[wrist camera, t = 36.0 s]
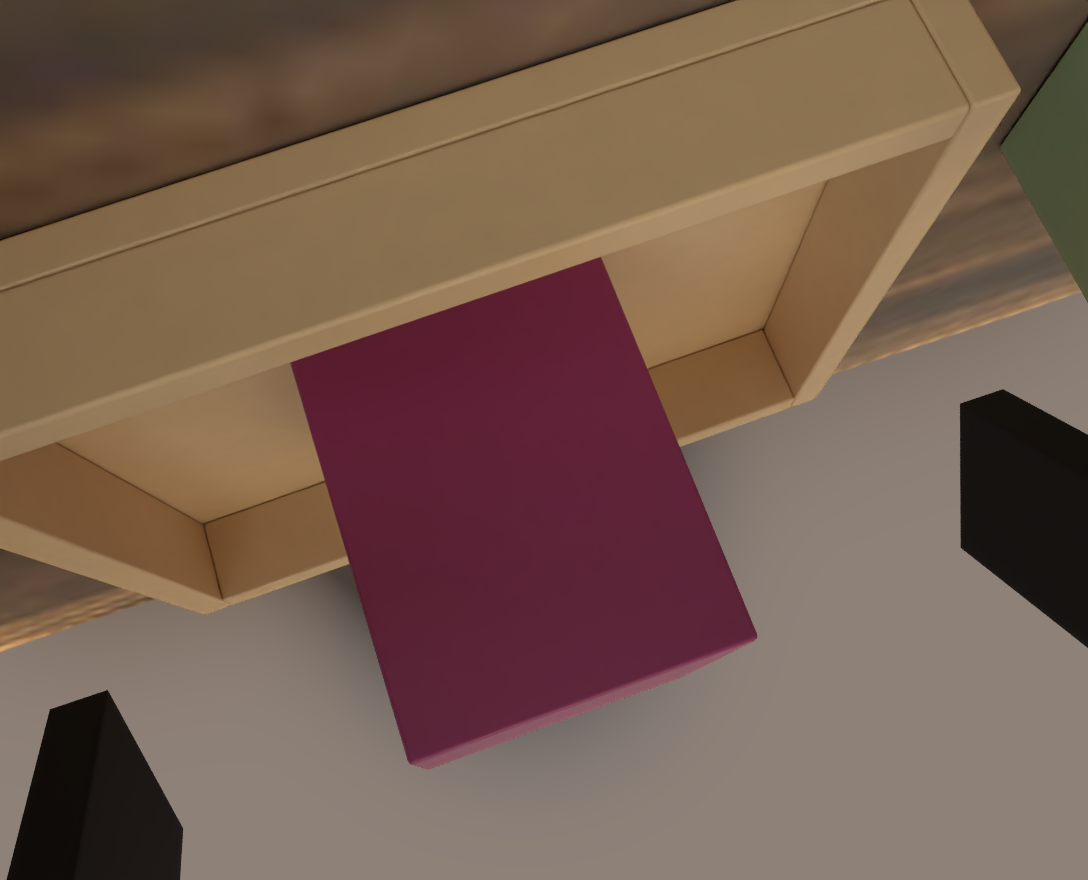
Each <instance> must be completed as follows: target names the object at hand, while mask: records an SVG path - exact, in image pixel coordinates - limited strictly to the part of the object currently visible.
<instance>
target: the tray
mask: <svg viewBox="0 0 1088 880" xmlns="http://www.w3.org/2000/svg"><path fill="white" fill-rule="evenodd" d="M1020 91H1021V89H1020V86H1019V84H1018V82H1017V81H1016V79H1015V77H1014V75H1013V74H1012V72H1011V70H1010V69H1009V67H1008V65H1007V64H1006V62H1005V60H1004V59H1003V57H1002V55H1001V54H1000V52H999V50H998V48H997V47H996V45H995V43H994V42H993V40H992V38H991V37H990V35H989V33H988V32H987V30H986V28H985V27H984V25H983V23H982V21H981V20H980V18H979V16H978V15H977V13H976V11H975V10H974V8H973V6H972V5H971V3H970V1H969V0H735V1H732V2H729V3H726V4H723V5H720V6H717V7H714V8H711V9H708V10H705V11H702V12H699V13H696V14H692V15H689V16H686V17H683V18H680V19H677V20H674V21H671V22H668V23H665V24H662V25H659V26H656V27H653V28H650V29H647V30H643V31H640V32H637V33H634V34H631V35H628V36H625V37H622V38H619V39H616V40H613V41H610V42H607V43H604V44H601V45H598V46H595V47H591V48H588V49H585V50H582V51H579V52H576V53H573V54H570V55H567V56H564V57H561V58H558V59H555V60H552V61H549V62H546V63H542V64H539V65H536V66H533V67H530V68H527V69H524V70H521V71H518V72H515V73H512V74H509V75H506V76H503V77H500V78H497V79H493V80H490V81H487V82H484V83H481V84H478V85H475V86H472V87H469V88H466V89H463V90H460V91H457V92H454V93H451V94H448V95H445V96H441V97H438V98H435V99H432V100H429V101H426V102H423V103H420V104H417V105H414V106H411V107H408V108H405V109H402V110H399V111H396V112H392V113H389V114H386V115H383V116H380V117H377V118H374V119H371V120H368V121H365V122H362V123H359V124H356V125H353V126H350V127H347V128H343V129H340V130H337V131H334V132H331V133H328V134H325V135H322V136H319V137H316V138H313V139H310V140H307V141H304V142H301V143H298V144H294V145H291V146H288V147H285V148H282V149H279V150H276V151H273V152H270V153H267V154H264V155H261V156H258V157H255V158H252V159H249V160H246V161H242V162H239V163H236V164H233V165H230V166H227V167H224V168H221V169H218V170H215V171H212V172H209V173H206V174H203V175H200V176H197V177H193V178H190V179H187V180H184V181H181V182H178V183H175V184H172V185H169V186H166V187H163V188H160V189H157V190H154V191H151V192H148V193H144V194H141V195H138V196H135V197H132V198H129V199H126V200H123V201H120V202H117V203H114V204H111V205H108V206H105V207H102V208H99V209H96V210H92V211H89V212H86V213H83V214H80V215H77V216H74V217H71V218H68V219H65V220H62V221H59V222H56V223H53V224H50V225H47V226H43V227H40V228H37V229H34V230H31V231H28V232H25V233H22V234H19V235H16V236H13V237H10V238H7V239H4V240H1V241H0V548H1V549H4V550H7V551H10V552H13V553H16V554H19V555H22V556H26V557H29V558H32V559H35V560H38V561H41V562H44V563H47V564H50V565H53V566H56V567H59V568H62V569H65V570H68V571H71V572H75V573H78V574H81V575H84V576H87V577H90V578H93V579H96V580H99V581H102V582H105V583H108V584H111V585H114V586H117V587H120V588H124V589H127V590H130V591H133V592H136V593H139V594H142V595H145V596H148V597H151V598H154V599H157V600H160V601H164V602H167V603H169V604H173V605H176V606H179V607H182V608H185V609H188V610H191V611H194V612H197V613H200V614H204V615H206V614H209V613H212V612H215V611H217V610H220V609H223V608H226V607H229V606H230V605H231V604H237V603H240V602H243V601H246V600H248V599H251V598H254V597H257V596H260V595H262V594H265V593H268V592H271V591H274V590H277V589H280V588H282V587H285V586H288V585H291V584H294V583H296V582H299V581H302V580H305V579H307V578H311V577H313V576H316V575H319V574H322V573H325V572H327V571H330V570H333V569H336V568H339V567H342V566H344V565H347V564H349V560H348V557H347V554H346V550H345V547H344V543H343V540H342V537H341V533H340V530H339V527H338V523H337V520H336V516H335V513H334V510H333V506H332V503H331V500H330V496H329V493H328V489H327V486H326V483H325V479H324V476H323V472H322V469H321V466H320V462H319V459H318V456H317V452H316V449H315V445H314V442H313V439H312V435H311V432H310V429H309V425H308V422H307V418H306V415H305V412H304V408H303V405H302V401H301V398H300V395H299V391H298V388H297V385H296V381H295V378H294V374H293V371H292V368H291V364H290V362H293V361H296V360H299V359H302V358H305V357H308V356H311V355H314V354H316V353H319V352H322V351H325V350H328V349H331V348H334V347H337V346H340V345H343V344H346V343H349V342H352V341H355V340H358V339H361V338H364V337H366V336H369V335H372V334H375V333H378V332H381V331H384V330H387V329H390V328H393V327H396V326H399V325H402V324H405V323H408V322H411V321H414V320H416V319H419V318H422V317H425V316H428V315H431V314H434V313H437V312H440V311H443V310H446V309H449V308H452V307H455V306H458V305H461V304H463V303H466V302H469V301H472V300H475V299H478V298H481V297H484V296H487V295H490V294H493V293H496V292H499V291H502V290H505V289H508V288H511V287H513V286H516V285H519V284H522V283H525V282H528V281H531V280H534V279H537V278H540V277H543V276H546V275H549V274H552V273H555V272H558V271H560V270H563V269H566V268H569V267H572V266H575V265H578V264H581V263H584V262H587V261H590V260H593V259H596V258H599V257H601V258H602V260H603V263H604V265H605V268H606V270H607V273H608V275H609V277H610V280H611V282H612V285H613V287H614V289H615V292H616V294H617V297H618V299H619V302H620V304H621V306H622V309H623V311H624V314H625V316H626V318H627V321H628V323H629V326H630V328H631V331H632V333H633V335H634V338H635V340H636V343H637V345H638V348H639V350H640V352H641V355H642V357H643V360H644V362H645V364H646V367H647V369H648V372H649V374H650V377H651V379H652V381H653V384H654V386H655V389H656V391H657V393H658V396H659V398H660V401H661V403H662V406H663V408H664V410H665V413H666V415H667V418H668V420H669V422H670V425H671V427H672V430H673V432H674V435H675V437H676V439H677V442H678V444H679V447H681V446H683V445H686V444H689V443H692V442H694V441H698V440H700V439H703V438H706V437H709V436H712V435H715V434H717V433H720V432H723V431H726V430H729V429H731V428H734V427H737V426H740V425H743V424H745V423H748V422H751V421H754V420H757V419H760V418H763V417H765V416H768V415H771V414H774V413H777V412H779V411H782V410H785V409H788V408H789V407H790V406H791V407H794V406H796V405H799V404H802V403H805V402H808V401H811V400H813V399H815V398H816V397H817V396H818V394H819V393H820V391H821V390H822V388H823V386H824V385H825V384H826V382H827V381H828V379H829V378H830V376H831V375H832V373H833V372H834V370H835V369H836V367H837V366H838V364H839V363H840V361H841V360H842V358H843V357H844V355H845V354H846V352H847V351H848V349H849V348H850V346H851V345H852V343H853V342H854V340H855V339H856V337H857V336H858V334H859V333H860V331H861V330H862V328H863V327H864V325H865V324H866V322H867V321H868V319H869V318H870V316H871V315H872V313H873V312H874V310H875V309H876V307H877V306H878V304H879V303H880V301H881V300H882V298H883V297H884V295H885V294H886V293H887V291H888V290H889V288H890V287H891V285H892V284H893V282H894V281H895V279H896V278H897V276H898V275H899V273H900V272H901V270H902V269H903V267H904V266H905V264H906V263H907V261H908V260H909V258H910V257H911V255H912V254H913V252H914V251H915V249H916V248H917V246H918V245H919V243H920V242H921V240H922V239H923V237H924V236H925V234H926V233H927V231H928V230H929V228H930V227H931V225H932V224H933V222H934V221H935V219H936V218H937V216H938V215H939V213H940V212H941V210H942V209H943V207H944V206H945V204H946V203H947V201H948V200H949V198H950V197H951V195H952V194H953V192H954V191H955V189H956V188H957V186H958V185H959V183H960V182H961V180H962V179H963V177H964V176H965V174H966V173H967V171H968V170H969V168H970V167H971V165H972V164H973V162H974V161H975V159H976V158H977V156H978V155H979V153H980V152H981V150H982V149H983V147H984V146H985V145H986V143H987V142H988V140H989V139H990V137H991V136H992V134H993V133H994V131H995V130H996V128H997V127H998V125H999V124H1000V122H1001V121H1002V119H1003V118H1004V116H1005V115H1006V113H1007V112H1008V110H1009V109H1010V107H1011V106H1012V104H1013V103H1014V101H1015V100H1016V98H1017V97H1018V95H1019V94H1020Z"/></svg>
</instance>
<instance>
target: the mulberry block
mask: <svg viewBox="0 0 1088 880" xmlns="http://www.w3.org/2000/svg"><path fill="white" fill-rule="evenodd" d="M290 364H291V368H292V371H293V374H294V378H295V381H296V385H297V388H298V391H299V395H300V398H301V401H302V405H303V408H304V412H305V415H306V418H307V422H308V425H309V429H310V432H311V435H312V439H313V442H314V445H315V449H316V452H317V456H318V459H319V462H320V466H321V469H322V472H323V476H324V479H325V483H326V486H327V489H328V493H329V496H330V500H331V503H332V506H333V510H334V513H335V516H336V520H337V523H338V527H339V530H340V533H341V537H342V540H343V543H344V547H345V550H346V554H347V557H348V560H349V564H350V567H351V570H352V574H353V577H354V581H355V584H356V587H357V591H358V594H359V598H360V601H361V604H362V608H363V611H364V614H365V617H366V621H367V624H368V628H369V631H370V635H371V638H372V641H373V645H374V648H375V652H376V655H377V658H378V662H379V665H380V669H381V672H382V675H383V678H384V682H385V685H386V689H387V692H388V695H389V699H390V702H391V706H392V709H393V712H394V716H395V719H396V723H397V726H398V729H399V732H400V736H401V740H402V743H403V746H404V750H405V753H406V756H407V760H408V761H409V763H410V764H412V765H415V766H418V767H421V768H425V769H431V768H434V767H437V766H440V765H442V764H445V763H448V762H451V761H453V760H456V759H459V758H461V757H464V756H467V755H470V754H473V753H475V752H478V751H481V750H483V749H486V748H489V747H492V746H494V745H497V744H500V743H503V742H505V741H508V740H511V739H514V738H516V737H519V736H522V735H525V734H527V733H530V732H533V731H535V730H538V729H541V728H544V727H546V726H549V725H552V724H554V723H557V722H560V721H563V720H566V719H568V718H571V717H574V716H576V715H579V714H582V713H585V712H587V711H590V710H593V709H596V708H598V707H601V706H604V705H607V704H609V703H612V702H615V701H618V700H620V699H623V698H626V697H629V696H631V695H634V694H637V693H640V692H642V691H645V690H648V689H650V688H653V687H656V686H659V685H661V684H664V683H667V682H669V681H672V680H675V679H678V678H680V677H683V676H685V675H687V674H689V673H691V672H693V671H695V670H697V669H699V668H701V667H703V666H705V665H707V664H709V663H711V662H713V661H715V660H717V659H719V658H721V657H723V656H725V655H727V654H729V653H731V652H733V651H735V650H737V649H739V648H741V647H743V646H745V645H747V644H749V643H751V642H753V641H755V639H757V633H756V630H755V628H754V626H753V624H752V621H751V618H750V616H749V614H748V611H747V609H746V606H745V604H744V601H743V599H742V597H741V594H740V592H739V589H738V587H737V585H736V582H735V580H734V577H733V576H732V572H731V570H730V568H729V565H728V563H727V560H726V558H725V556H724V553H723V551H722V548H721V546H720V543H719V541H718V539H717V536H716V534H715V531H714V529H713V527H712V524H711V522H710V519H709V517H708V514H707V512H706V510H705V507H704V505H703V502H702V500H701V497H700V495H699V493H698V490H697V488H696V485H695V483H694V481H693V478H692V476H691V473H690V471H689V469H688V466H687V464H686V461H685V459H684V456H683V454H682V452H681V449H680V447H679V444H678V442H677V439H676V437H675V435H674V432H673V430H672V427H671V425H670V422H669V420H668V418H667V415H666V413H665V410H664V408H663V406H662V403H661V401H660V398H659V396H658V393H657V391H656V389H655V386H654V384H653V381H652V379H651V377H650V374H649V372H648V369H647V367H646V364H645V362H644V360H643V357H642V355H641V352H640V350H639V348H638V345H637V343H636V340H635V338H634V335H633V333H632V331H631V328H630V326H629V323H628V321H627V318H626V316H625V314H624V311H623V309H622V306H621V304H620V302H619V299H618V297H617V294H616V292H615V289H614V287H613V285H612V282H611V280H610V277H609V275H608V273H607V270H606V268H605V265H604V263H603V260H602V258H601V257H599V258H596V259H593V260H590V261H587V262H584V263H581V264H578V265H575V266H572V267H569V268H566V269H563V270H560V271H558V272H555V273H552V274H549V275H546V276H543V277H540V278H537V279H534V280H531V281H528V282H525V283H522V284H519V285H516V286H513V287H511V288H508V289H505V290H502V291H499V292H496V293H493V294H490V295H487V296H484V297H481V298H478V299H475V300H472V301H469V302H466V303H463V304H461V305H458V306H455V307H452V308H449V309H446V310H443V311H440V312H437V313H434V314H431V315H428V316H425V317H422V318H419V319H416V320H414V321H411V322H408V323H405V324H402V325H399V326H396V327H393V328H390V329H387V330H384V331H381V332H378V333H375V334H372V335H369V336H366V337H364V338H361V339H358V340H355V341H352V342H349V343H346V344H343V345H340V346H337V347H334V348H331V349H328V350H325V351H322V352H319V353H316V354H314V355H311V356H308V357H305V358H302V359H299V360H296V361H293V362H290Z"/></svg>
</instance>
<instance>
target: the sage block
mask: <svg viewBox="0 0 1088 880" xmlns="http://www.w3.org/2000/svg"><path fill="white" fill-rule="evenodd" d="M1000 150H1001V151H1002V153H1003V155H1004V157H1005V158H1006V160H1007V162H1008V164H1009V165H1010V167H1011V169H1012V171H1013V172H1014V174H1015V176H1016V178H1017V179H1018V181H1019V183H1020V185H1021V186H1022V188H1023V190H1024V192H1025V193H1026V195H1027V197H1028V199H1029V200H1030V202H1031V204H1032V206H1033V207H1034V209H1035V211H1036V213H1037V214H1038V216H1039V218H1040V220H1041V221H1042V223H1043V225H1044V227H1045V228H1046V230H1047V232H1048V234H1049V235H1050V237H1051V239H1052V241H1053V242H1054V244H1055V246H1056V248H1057V249H1058V251H1059V253H1060V255H1061V256H1062V258H1063V260H1064V262H1065V263H1066V265H1067V267H1068V269H1069V270H1070V272H1071V274H1072V276H1073V277H1074V279H1075V281H1076V283H1077V284H1078V286H1079V288H1080V290H1081V291H1082V293H1083V295H1084V297H1085V298H1086V300H1087V302H1088V21H1087V23H1086V24H1085V26H1084V27H1083V29H1082V30H1081V31H1080V33H1079V34H1078V36H1077V37H1076V39H1075V40H1074V42H1073V43H1072V44H1071V46H1070V47H1069V49H1068V50H1067V52H1066V53H1065V54H1064V56H1063V57H1062V59H1061V60H1060V62H1059V63H1058V64H1057V66H1056V67H1055V69H1054V70H1053V72H1052V73H1051V74H1050V76H1049V77H1048V79H1047V80H1046V82H1045V83H1044V85H1043V86H1042V87H1041V89H1040V90H1039V92H1038V93H1037V95H1036V96H1035V97H1034V99H1033V100H1032V102H1031V103H1030V105H1029V106H1028V107H1027V109H1026V110H1025V112H1024V113H1023V115H1022V116H1021V117H1020V119H1019V120H1018V122H1017V123H1016V125H1015V126H1014V127H1013V129H1012V130H1011V132H1010V133H1009V135H1008V136H1007V138H1006V139H1005V140H1004V142H1003V143H1002V145H1001V146H1000Z"/></svg>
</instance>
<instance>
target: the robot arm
mask: <svg viewBox="0 0 1088 880" xmlns="http://www.w3.org/2000/svg"><path fill="white" fill-rule="evenodd" d="M960 486H961V548H962V549H963V550H964V551H966V552H967V553H968V554H969V555H971V556H972V557H973V558H974V559H976V560H977V561H978V562H980V563H981V564H982V565H983V566H985V567H986V568H987V569H988V570H990V571H991V572H992V573H993V574H995V575H996V576H997V577H999V578H1000V579H1001V580H1003V581H1004V582H1005V583H1006V584H1007V585H1009V586H1010V587H1011V588H1013V589H1014V590H1015V591H1016V592H1018V593H1019V594H1020V595H1021V596H1023V597H1024V598H1025V599H1027V600H1028V601H1029V602H1030V603H1032V604H1033V605H1034V606H1036V607H1037V608H1038V609H1039V610H1040V611H1042V612H1043V613H1044V614H1046V615H1047V616H1048V617H1049V618H1051V619H1052V620H1053V621H1054V622H1056V623H1057V624H1058V625H1060V626H1061V627H1062V628H1063V629H1065V630H1066V631H1067V632H1068V633H1070V634H1071V635H1072V636H1073V637H1075V638H1076V639H1077V640H1079V641H1080V642H1081V643H1083V644H1084V645H1085V646H1086V647H1087V648H1088V435H1087V434H1085V433H1083V432H1082V431H1080V430H1078V429H1076V428H1074V427H1072V426H1070V425H1068V424H1067V423H1065V422H1063V421H1061V420H1059V419H1057V418H1056V417H1054V416H1052V415H1050V414H1048V413H1046V412H1044V411H1043V410H1041V409H1039V408H1037V407H1035V406H1033V405H1031V404H1030V403H1028V402H1026V401H1024V400H1022V399H1020V398H1018V397H1016V396H1015V395H1013V394H1011V393H1009V392H1007V391H1005V390H999V391H996V392H994V393H991V394H988V395H985V396H982V397H979V398H976V399H973V400H970V401H967V402H964V403H961V404H960ZM182 839H183V828H182V826H181V824H180V822H179V820H178V818H177V817H176V815H175V813H174V811H173V809H172V807H171V806H170V804H169V802H168V800H167V798H166V797H165V795H164V793H163V791H162V789H161V787H160V785H159V783H158V782H157V780H156V778H155V776H154V774H153V772H152V771H151V769H150V767H149V765H148V763H147V761H146V760H145V758H144V756H143V754H142V752H141V750H140V749H139V747H138V745H137V743H136V741H135V739H134V737H133V736H132V734H131V732H130V730H129V729H128V726H127V725H126V723H125V721H124V720H123V717H122V716H121V714H120V712H119V710H118V708H117V706H116V705H115V703H114V701H113V699H112V697H111V695H110V693H109V692H108V690H106V691H104V692H101V693H97V694H95V695H92V696H89V697H86V698H83V699H80V700H77V701H74V702H71V703H68V704H65V705H62V706H59V707H56V708H53V709H50V712H49V715H48V719H47V723H46V727H45V731H44V735H43V739H42V743H41V747H40V751H39V755H38V759H37V763H36V766H35V771H34V775H33V778H32V782H31V786H30V790H29V794H28V798H27V802H26V806H25V810H24V814H23V817H22V821H21V825H20V829H19V833H18V837H17V841H16V845H15V849H14V853H13V857H12V861H11V865H10V868H9V872H8V876H7V880H180V871H181V854H182Z"/></svg>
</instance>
